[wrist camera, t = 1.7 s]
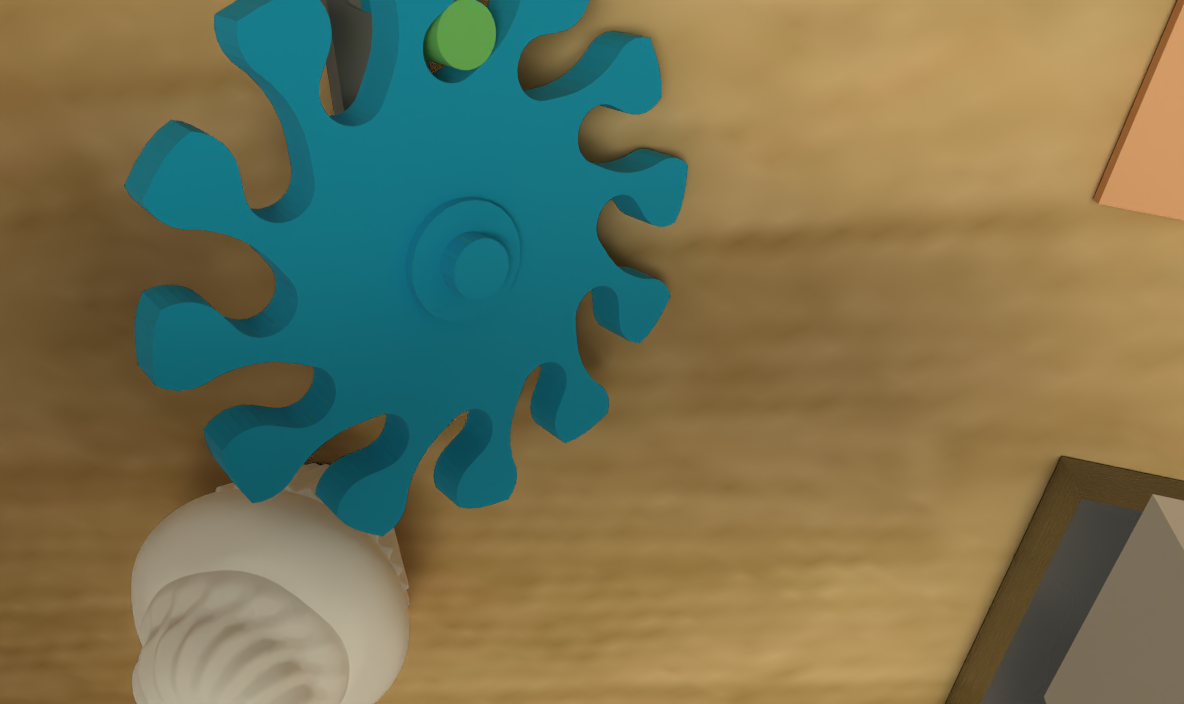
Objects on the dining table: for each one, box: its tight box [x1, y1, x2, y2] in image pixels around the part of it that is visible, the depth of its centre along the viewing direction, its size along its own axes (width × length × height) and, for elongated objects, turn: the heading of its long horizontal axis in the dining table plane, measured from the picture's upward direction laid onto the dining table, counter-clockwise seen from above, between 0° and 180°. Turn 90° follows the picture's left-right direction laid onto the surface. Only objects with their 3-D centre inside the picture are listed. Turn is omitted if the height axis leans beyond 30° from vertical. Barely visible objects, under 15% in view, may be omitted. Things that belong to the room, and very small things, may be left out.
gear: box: [124, 0, 688, 536], centre depth 18 cm, size 11×6×10 cm
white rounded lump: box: [131, 463, 410, 704], centre depth 22 cm, size 6×6×7 cm
